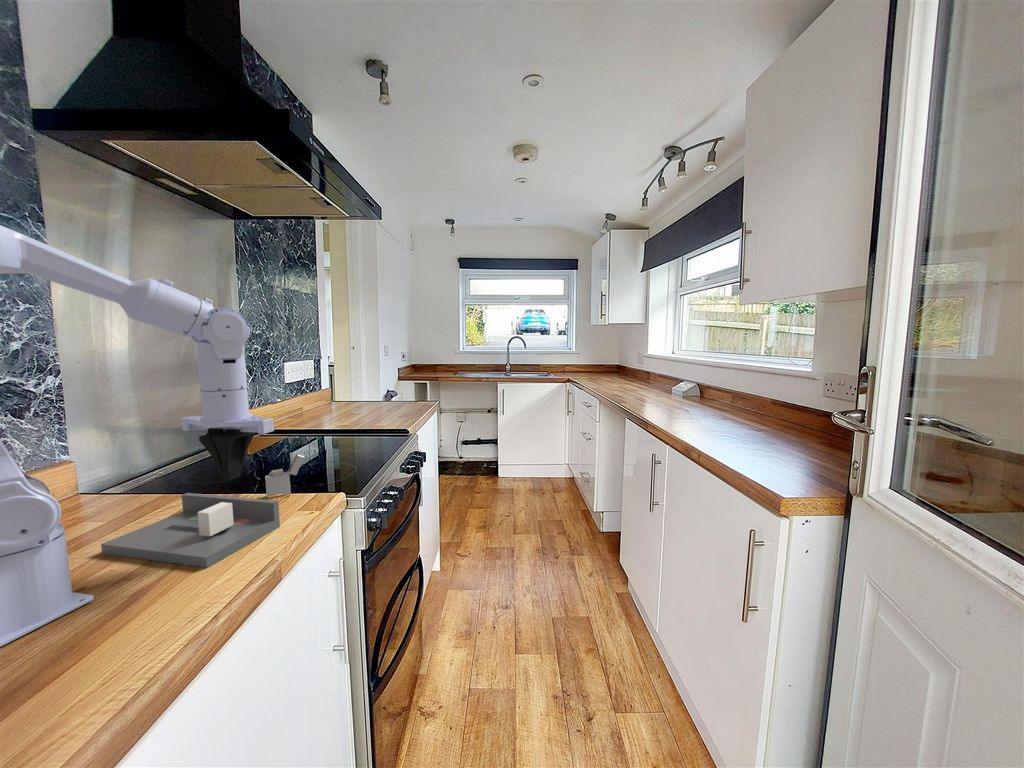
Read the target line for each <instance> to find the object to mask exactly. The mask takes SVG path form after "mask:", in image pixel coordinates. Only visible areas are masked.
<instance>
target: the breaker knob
mask: <svg viewBox="0 0 1024 768" xmlns="http://www.w3.org/2000/svg"><path fill="white" fill-rule="evenodd" d="M198 523H199V535H203V536H212V535H214V534H216V533H218V532H220V531H222V530H224V529H226V528H228V527H230V526H232V525H234V521H233V508H232V503H226V502H221V503H219V504H216V505H214V506H211V507H209V508H207V509H204V510H202V511H199V512H198Z"/></svg>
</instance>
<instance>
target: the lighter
mask: <svg viewBox="0 0 1024 768" xmlns="http://www.w3.org/2000/svg"><path fill="white" fill-rule="evenodd" d="M304 460H305V455H304V454H301V453H297V452H296V453H295V456H294V458H293V460H292V463H291V464H290V467H289V469H288V471H287V472H284V470H283V468H280V469H273V470H271V471H270V472H269V475H265V476H264V478H265V479H264V480H265V488H266V489H265V490H266V492H265V493H266V498H267V497H269V496H272V495H278V494H289V493H292V492H291V491H292V490H291V480H290V479H291V477H290V475H293V476H297V474H298V472H299V470H300V467H302V466H301V465H302V463H303V461H304ZM289 495H290V494H289Z"/></svg>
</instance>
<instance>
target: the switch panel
mask: <svg viewBox="0 0 1024 768" xmlns="http://www.w3.org/2000/svg"><path fill="white" fill-rule="evenodd" d="M181 502H182V504H181V505H182V511H180V512H178V513H175V514H173V515H171V516H168V517H166V518H165V517H164V518H163V519H160V520H158V521H156V522H153V523H151V524H148V525H146V526H143V527H140V528H139V529H136V530H133V531H131V532H128V533H125V534H123V535H120V536H118V537H115V538H113V539H111V540H108V541H106V542H103V543H101V544H100V546H101V554H102V555H108V556H109V555H110V556H115V557H124V558H129V559H130V558H131V559H137V558H140V559H139V560H144V559H147V560H146V561H151V560H152V561H153V562H159V561H161V562H160V563H166V562H170V563H169V564H173V563H178V564H177V565H181V564H187V565H186V566H188V565H194V566H193V567H196V566H198V567H197V568H204V569H208V568H209V567H211V566H213V565H215V564H216V563H219V562H220V561H222V560H224V559H225V558H227V557H229V556H231V555H232V554H234V553H236V552H238V551H239V550H241V549H243V548H245V547H247V546H249V545H250V544H252V543H253V542H255V541H257V540H259V539H260V538H262V537H264V536H266V535H268V534H270V533H271V532H273V531H274V530H276V529H278V528H280V527H281V525H280V523H281V521H280V507H279V500H270V499H262V498H252V497H251V498H249V497H237V496H228V495H219V494H218V495H216V494H215V495H214V494H204V493H194V492H193V493H192V492H186V493H183V494H181ZM221 502H226V503H232V508H233V521H234V525H232V526H230V527H228V528H226V529H224V530H222V531H220V532H218V533H216V534H214V535H212V536H203V535H199V523H198V512H199V511H202V510H204V509H207V508H209V507H211V506H214V505H216V504H219V503H221ZM152 561H151V562H152Z"/></svg>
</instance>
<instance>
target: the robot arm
mask: <svg viewBox="0 0 1024 768" xmlns="http://www.w3.org/2000/svg"><path fill="white" fill-rule="evenodd" d="M0 274H2V275H3V274H27V275H31V276H34V277H37V278H40V279H42V280H46V281H49V282H52V283H55V284H58V285H61V286H64V287H67V288H71V289H73V290H77V291H80V292H82V293H86V294H88V295H92V296H94V297H98V298H101V299H104V300H108V301H110V302H113V303H115V304H118V305H120V307H121V308H122V310H123V311H124V313H125V314H126V316H127V317H128V318H129V319H131V320H133V321H138V322H140V323H142V324H147V325H149V326H152V327H155V328H158V329H160V330H164V331H167V332H170V333H173V334H176V335H178V336H180V337H181V336H182V337H185V338H189V337H190V338H191V340H192V341H193V342H194V343H196V347H197V348H196V349H197V369H198V370H197V371H198V379H199V380H198V381H199V389H200V391H199V392H200V394H199V395H200V403H201V414H202V415H191V416H186V417H182V418H180V422H181V431H183V432H187V431H207V432H206V434H205V435H200V436H199V437H198V438H199V439H198V441H199V442H200V443H201V444H202V445H203V447H205V449H206V451H208V453H209V455H210V456H211V457H212V460H213V462H214V464H215V466H216V469H217V470H218V473H219V476H220V478H221V480H224V481H231V480H234V479H236V478H239V477H241V473H242V470H243V465H244V461H245V457H246V453H247V452H248V449H249V446H250V444H251V443H252V441H253V439H254V438H255V435H256V433H257V434H259V435H265V434H268V433H271V432H274V431H275V426H274V418H267V417H261V416H255V415H253V413H250V411H249V409H250V408H249V407H250V406H249V396H248V380H247V369H246V357H245V347H244V346H245V343H246V342H247V340H248V339H249V337H250V334H251V327H250V326H248V323H247V320H246V319H245V317H244V316H243V317H242V314H241V313H240V312H239V311H237V310H235V309H233V308H230V307H225V306H223V307H221V306H220V307H214V305H213V302H214V301H213V300H212V299H210V298H208V297H202V298H200V297H196V296H194V295H191V294H189V293H187V292H184V291H182V290H179V289H178V288H174V287H173V286H174V282H173V281H171V280H168V279H165V278H160V279H159V280H156V279H153V278H151V277H146V278H142V279H138V280H133V281H132V280H130V279H127V278H125V277H122V276H120V275H118V274H115V273H113V272H111V271H109V270H106V269H105V268H102V267H100V266H97V265H94V264H92V263H90V262H87V261H86V260H83V259H81V258H79V257H76V256H75V255H72V254H69V253H68V252H64V251H62V250H59V249H58V248H55V247H53V246H50V245H48V244H46V243H44V242H41V241H40V240H39V241H38V240H36V239H35V238H32V237H31V236H27V235H25V234H22V233H20V232H18V231H15V230H12V229H10V228H8V227H5V226H3V225H0ZM61 517H62V508H61V505H60V503H59V502H58V500H57V499H56V498H55V497H54V496H52V495H51V490H50V489H49V487H48V486H47V484H46V483H44V481H42V480H40V479H38V478H36V477H34V476H32V475H29V474H27V473H26V472H25V471H23V470H22V468H21V467H20V466H19V464H18V463H17V461H16V460H15V458H14V457H13V455H12V454H11V453H10V452H9V450H8V448H7V447H6V446H5V444H4V443H3V441H2V439H0V648H1V647H2V646H5V645H7V644H9V643H11V642H12V641H15V640H16V639H19V638H21V637H22V636H24V635H27V634H28V633H30V632H32V631H34V630H37V629H38V628H40V627H43V626H45V625H46V624H48V623H50V622H53V621H54V620H56V619H59V618H60V617H62V616H65V615H66V614H68V613H71V612H72V611H74V610H76V609H78V608H80V607H82V606H84V605H86V604H88V603H91V602H92V601H93V600H94V599H95V596H94V595H92V594H86V593H80V592H74V591H73V589H72V581H71V571H70V563H69V557H68V556H69V555H68V546H67V539H66V538H67V537H66V529H65V525H64V524H62V523H60V521H61Z"/></svg>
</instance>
